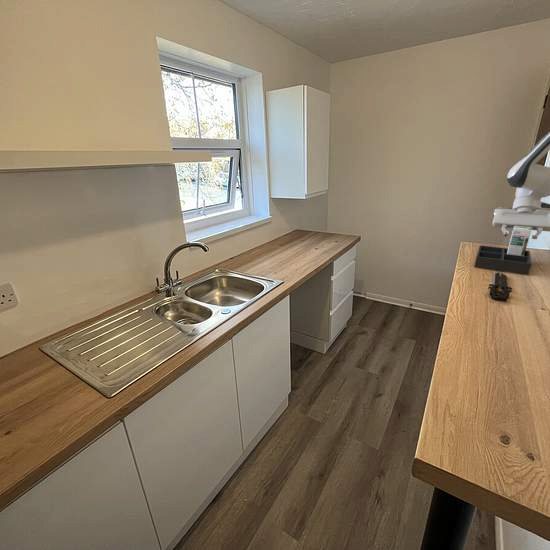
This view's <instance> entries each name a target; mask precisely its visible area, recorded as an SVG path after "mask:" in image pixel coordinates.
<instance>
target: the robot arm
mask: <svg viewBox="0 0 550 550" xmlns="http://www.w3.org/2000/svg"><path fill="white" fill-rule="evenodd" d="M549 151H550V130H549V131H548V132H547V133H545V135H544V136H543V137H542V138H541V139H540V140H539V141H537V143H536V144H534V146H533V147H532V148H530V150H529V151H528V152H527V153H525V155H524V156H523V157H522V158H521V159H519V160H518V161H517V162H516V163H515V164H514V165H512V167H511V168H510V170H509V171H508V172H507V174H506V181H507V183H508V185H509V186H510V187H511V188H512V187H513V188H516V190H515V195H514V196H515V198H514V200H513V203H512V206H511V207H510V206H509V207H508V206H507V207H504V206H499V207H497V208H495V209H494V210H493V215H494V216H493V219H492V224H491V225H492V227H494V228H501V229H500V230H501V232H502V236H503V237H508V235H509V230H507V229H513V228H514V226H523V227H532V229H531V231H536V232H534V233H532V235H531V239H532V240H537V239H538V238H539V235H541V234H542V232H550V203H548V202H544V201H541V200H542V199H543V198H546V197H549V196H550V166H545V165H542V164H538V162H539V161H540V160H541V159H542V158H543V157H544V156H545V155H546V154H547V153H548V152H549Z"/></svg>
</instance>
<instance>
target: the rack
mask: <svg viewBox="0 0 550 550" xmlns="http://www.w3.org/2000/svg"><path fill="white" fill-rule="evenodd" d="M507 251H508V247H507V248H506V247H498V246H497V247H496V246H489V245H481V244H480V245H479V246H478V250H477V253H476V256H475V261H474V267H473V268H476V269H483V270H491V271H497V272H503V273H510V274H518V275H523V276H529V273H530V270H531V267H532V258H531V252H530V250H526V251H525V254H524V256H520V255H511V254H507Z"/></svg>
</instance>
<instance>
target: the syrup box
mask: <svg viewBox="0 0 550 550" xmlns="http://www.w3.org/2000/svg"><path fill="white" fill-rule="evenodd" d="M531 229H532V227H523V226H514V228H512V231H511V236H510V239H509V243H508V247H507V248H508V251H507V254H511V255H520V256H524V254H525V251H527V247H528V243H529V239H530V236H531V232H532V230H531Z"/></svg>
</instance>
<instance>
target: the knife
mask: <svg viewBox="0 0 550 550" xmlns="http://www.w3.org/2000/svg"><path fill="white" fill-rule="evenodd" d="M499 288H500V289H501V290H499ZM488 289H490V290H489V296H490V299H491V300H495V301H500V302H501V301H503V302H506V301H508V299H509V298H510V293H512V290H513V287H511V286H508V275H506V274H504V273H501V271H498V272H495V273H493V280H492V283H489V284H488Z"/></svg>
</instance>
